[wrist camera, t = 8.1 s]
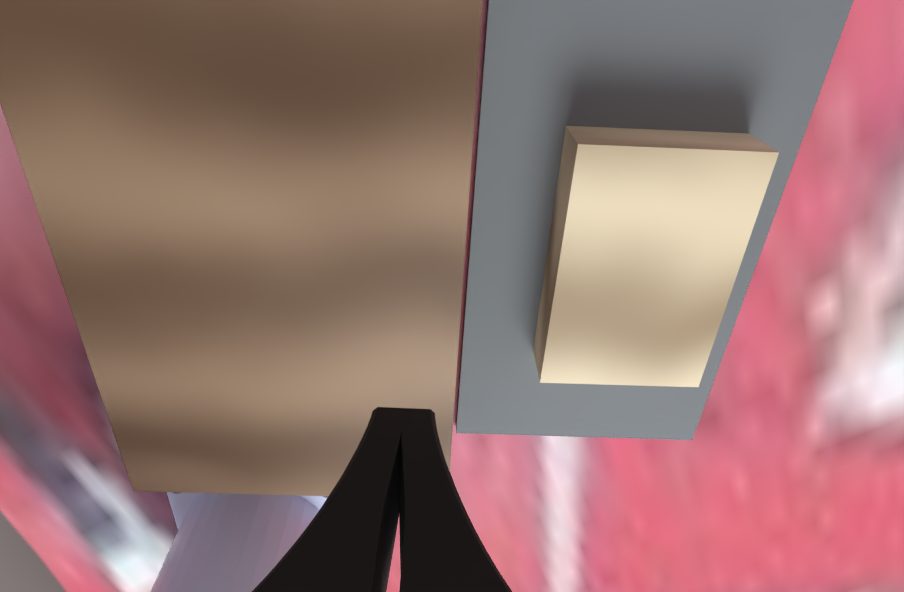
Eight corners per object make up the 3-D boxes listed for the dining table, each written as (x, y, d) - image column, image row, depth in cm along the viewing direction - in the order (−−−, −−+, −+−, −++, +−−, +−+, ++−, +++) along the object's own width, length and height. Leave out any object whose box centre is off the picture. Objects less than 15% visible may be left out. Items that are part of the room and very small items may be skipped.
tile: (540, 382, 22) (533, 350, 23) (698, 387, 22) (680, 354, 24) (578, 144, 17) (565, 125, 19) (779, 152, 17) (749, 133, 19)
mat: (688, 433, 26) (692, 439, 26) (456, 426, 26) (456, 432, 26) (850, -14, 17) (858, -13, 17) (490, -35, 17) (491, -35, 16)
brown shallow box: (447, 426, 26) (447, 499, 23) (175, 417, 26) (133, 491, 22) (476, -36, 17) (484, -31, 13) (48, -62, 16) (-57, -62, 13)
